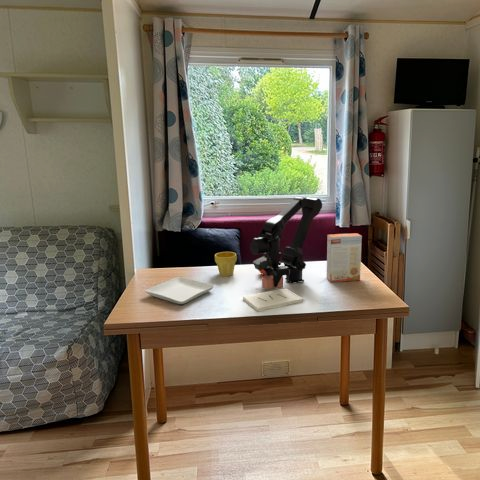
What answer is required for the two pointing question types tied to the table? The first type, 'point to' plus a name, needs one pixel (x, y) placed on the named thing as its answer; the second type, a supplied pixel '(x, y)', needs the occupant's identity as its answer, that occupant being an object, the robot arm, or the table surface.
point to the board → (272, 299)
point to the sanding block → (270, 283)
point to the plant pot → (225, 263)
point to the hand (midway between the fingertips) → (272, 285)
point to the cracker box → (344, 257)
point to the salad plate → (179, 290)
